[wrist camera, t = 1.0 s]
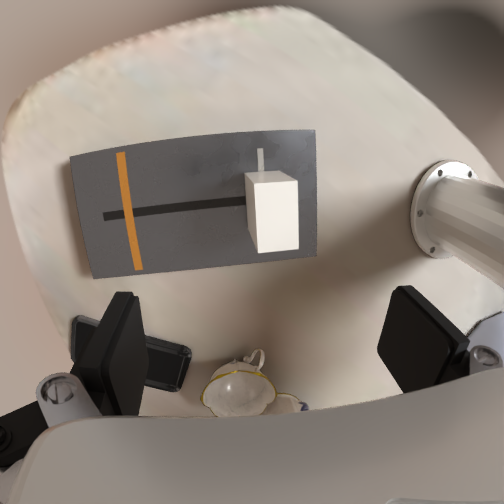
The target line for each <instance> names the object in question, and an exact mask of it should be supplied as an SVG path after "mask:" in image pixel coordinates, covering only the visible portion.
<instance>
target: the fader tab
mask: <svg viewBox="0 0 504 504" xmlns="http://www.w3.org/2000/svg"><path fill="white" fill-rule="evenodd" d="M244 175H245V191H246V206H247V221H248V230H249V232H250V235H251V237H252V240H253V242H254V245H255V247H256V250H257V252H258V253H265V252H275V251H285V250H294V249H299V225H298V181H297V180H295V179H294V178H292V177H290V176H288V175H286V174H285V173H283V172H281V171H279V170H278V171H262V172H248V173H244Z"/></svg>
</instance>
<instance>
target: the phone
mask: <svg viewBox="0 0 504 504" xmlns="http://www.w3.org/2000/svg"><path fill="white" fill-rule="evenodd" d="M99 323H100V321H97V320H94V319H91V318H88V317H85V316H82V315H78V316H76V317H75V319H74V320H73V322H72V335H71V359H72V361H73V362H74V363H75V361H76V359H77V357H78V355H79V353H80V351H81V349H82V347H83V345H84V343H85V341H86V339H87V337H88V335H89V333H90V332H91V330H92V329H93V328H94V327H98V325H99ZM145 340H146V346H147V351H148V357H149V367H148V371H147V376H146V380H145V386H148V387H152V388H156V389H160V390H165V391H169V392H177V391H179V390H180V389H181V387H182V384H183V381H184V378H185V375H186V372H187V369H188V366H189V363H190V360H191V350H190V349H189V348H188V347H186V346H184V345H180V344H176V343H172V342H168V341H164V340H161V339H157V338H153V337H150V336H146V335H145Z"/></svg>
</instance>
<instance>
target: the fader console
mask: <svg viewBox="0 0 504 504" xmlns="http://www.w3.org/2000/svg"><path fill="white" fill-rule="evenodd" d="M70 163H71V170H72V178H73V184H74V191H75V197H76V202H77V208H78V213H79V219H80V224H81V229H82V233H83V238H84V242H85V247H86V251H87V255H88V259H89V263H90V267H91V271H92V275H93V279H99V278H110V277H120V276H131V275H141V274H151V273H161V272H172V271H181V270H191V269H201V268H211V267H221V266H230V265H240V264H249V263H258V262H268V261H277V260H286V259H295V258H304V257H313V256H316V251H317V175H316V138H315V130H275V131H253V132H237V133H224V134H212V135H202V136H192V137H183V138H175V139H167V140H160V141H152V142H146V143H139V144H133V145H127V146H121V147H115V148H110V149H105V150H99V151H94V152H89V153H85V154H80V155H75V156H71V157H70ZM278 170H279V171H281V172H283V173H285V174H286V175H288V176H290V177H292V178H294V179H295V180H297V181H298V225H299V249H294V250H285V251H275V252H265V253H258V252H257V250H256V247H255V245H254V242H253V240H252V237H251V235H250V232H249V230H248V221H247V206H246V191H245V175H244V173H248V172H262V171H278Z"/></svg>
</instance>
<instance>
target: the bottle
mask: <svg viewBox="0 0 504 504" xmlns="http://www.w3.org/2000/svg"><path fill="white" fill-rule="evenodd" d="M467 338H468V339H469V340H470V343H469V346H468V348H467V350H468V351H469V352H470V350H471V349H472V348H473V347H474V346H477V345H483V346H487V347H490V348H492V349H494V350H495V351H497V352H498V353H499V354H500V356H501V357H502V360H503V367H504V312H502V313H499V314H497V315H495V316H493V317H490V318H488V319H486V320H483V321H481V322H480V324H479V325H478V326H477V327H476V328H475V329H474V330H473V331H472V333H471V334H470V335H469V336H468V337H467Z"/></svg>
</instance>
